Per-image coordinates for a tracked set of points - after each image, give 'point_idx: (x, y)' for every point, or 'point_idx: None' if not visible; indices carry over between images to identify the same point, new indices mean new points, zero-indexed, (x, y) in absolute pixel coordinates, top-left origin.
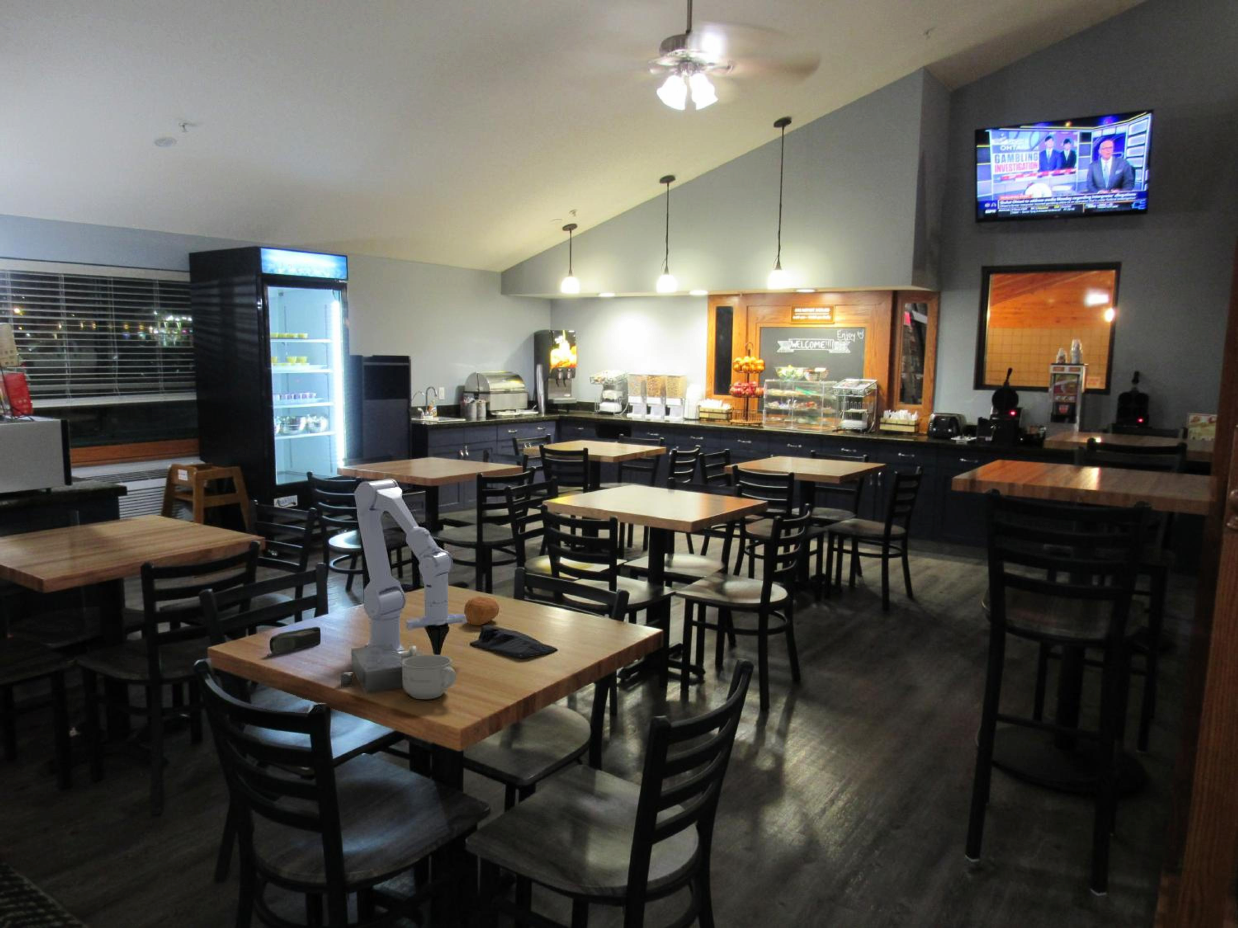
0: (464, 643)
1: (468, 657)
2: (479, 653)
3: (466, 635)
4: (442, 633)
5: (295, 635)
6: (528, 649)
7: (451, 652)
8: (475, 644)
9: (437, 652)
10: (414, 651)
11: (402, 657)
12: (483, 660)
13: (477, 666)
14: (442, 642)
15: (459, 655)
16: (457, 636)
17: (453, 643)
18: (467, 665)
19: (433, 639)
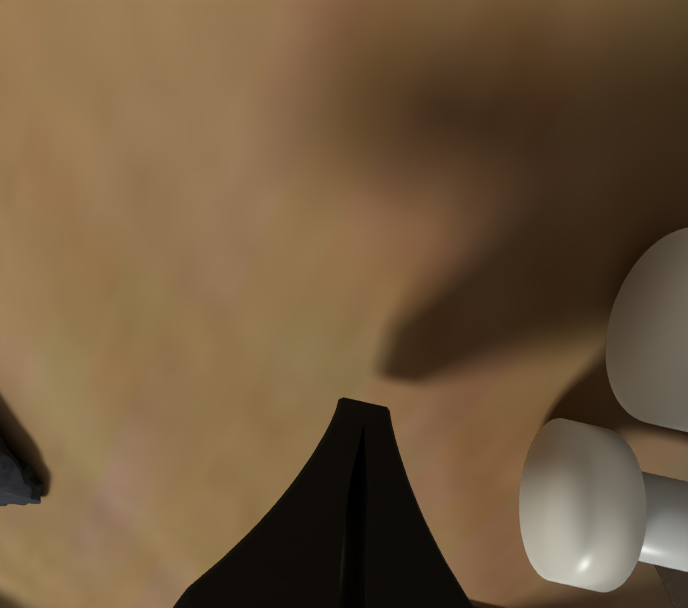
0: (75, 516)
1: (114, 309)
2: (13, 331)
3: (39, 584)
4: (300, 588)
5: None
6: None
7: (198, 454)
8: (7, 455)
9: (372, 416)
10: (624, 499)
11: None
12: (5, 165)
13: (95, 33)
14: (310, 478)
15: (166, 381)
16: (87, 597)
17: (136, 547)
18: (181, 132)
19: (427, 551)
